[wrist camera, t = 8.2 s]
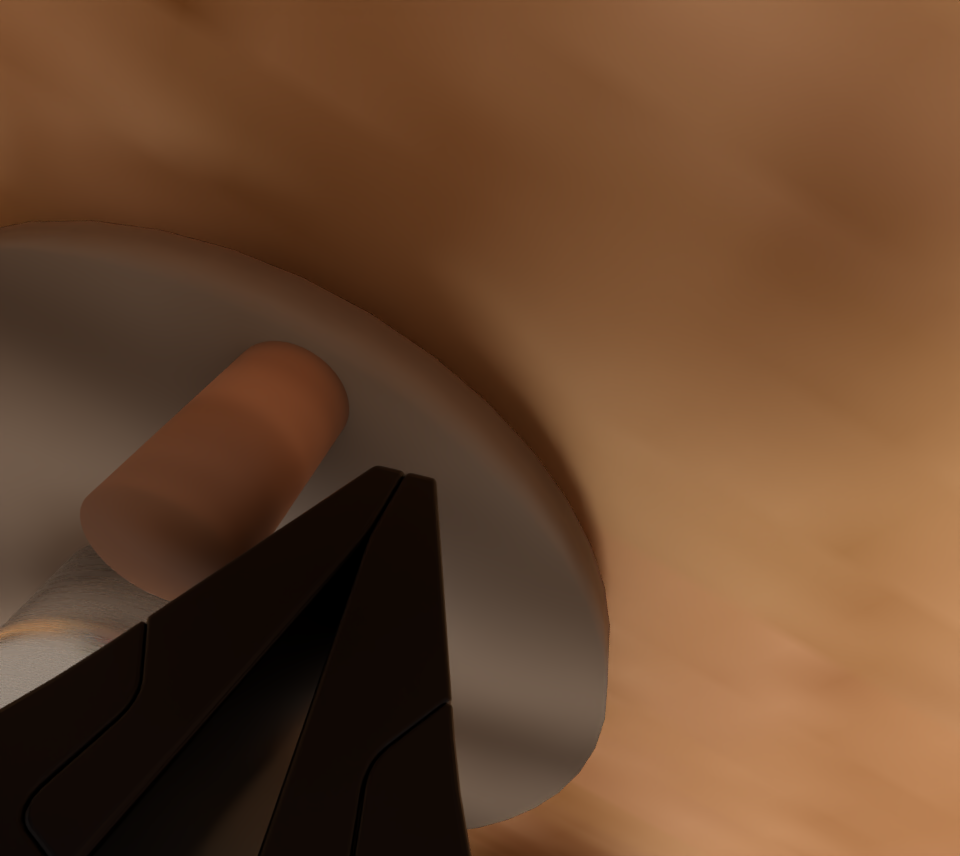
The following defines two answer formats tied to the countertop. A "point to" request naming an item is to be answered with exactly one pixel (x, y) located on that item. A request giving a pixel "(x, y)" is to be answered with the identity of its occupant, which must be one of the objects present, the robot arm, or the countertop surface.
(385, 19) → the countertop surface
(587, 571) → the turntable
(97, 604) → the aluminium cover
